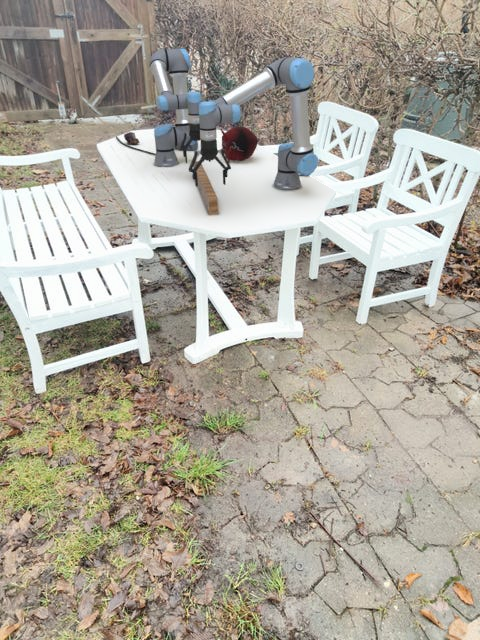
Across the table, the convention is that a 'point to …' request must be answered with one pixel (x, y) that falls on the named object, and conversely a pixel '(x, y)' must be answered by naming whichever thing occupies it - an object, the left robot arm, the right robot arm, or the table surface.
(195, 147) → the grey slotted block
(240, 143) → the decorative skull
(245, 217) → the table surface
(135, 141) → the rock
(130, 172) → the table surface
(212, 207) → the post
